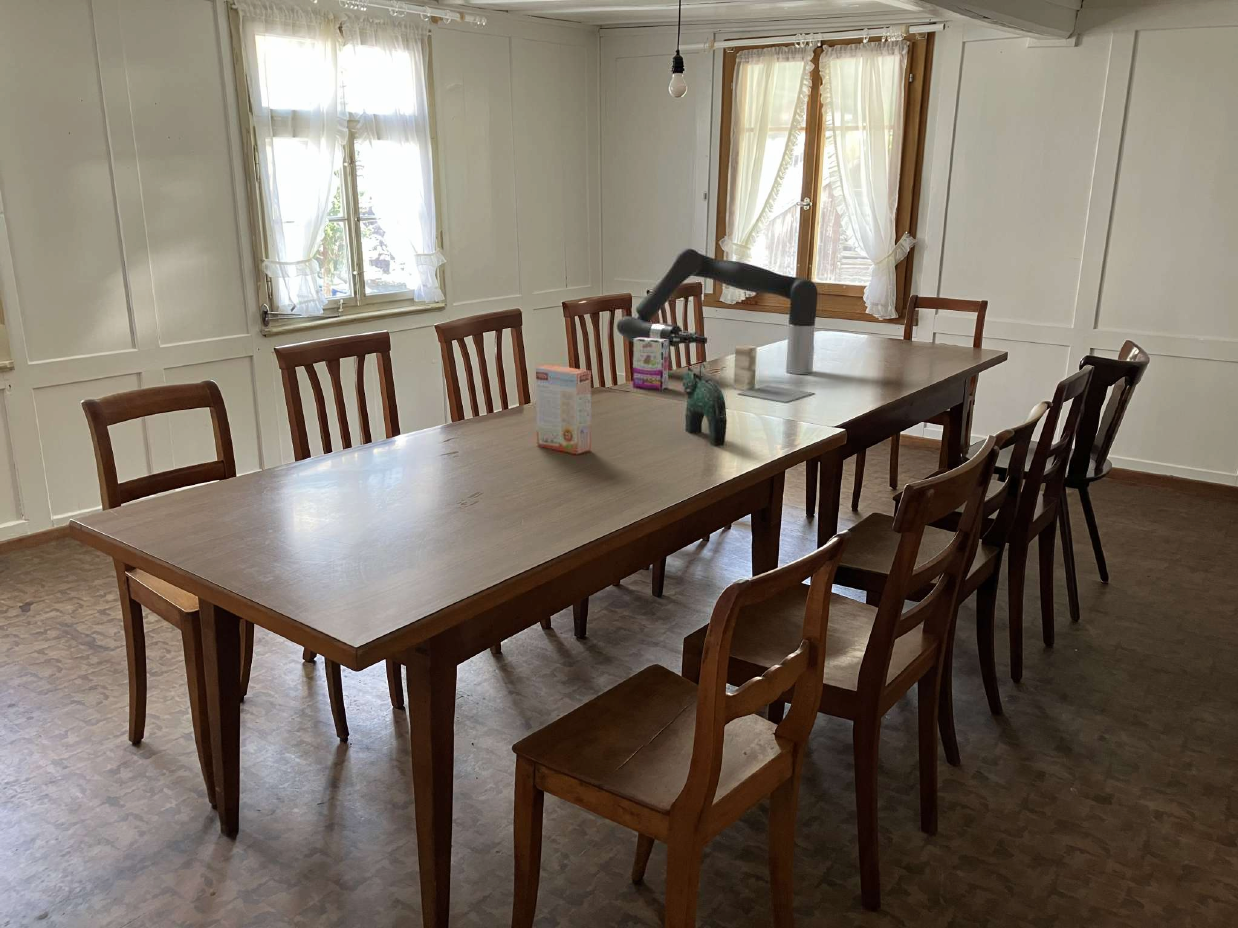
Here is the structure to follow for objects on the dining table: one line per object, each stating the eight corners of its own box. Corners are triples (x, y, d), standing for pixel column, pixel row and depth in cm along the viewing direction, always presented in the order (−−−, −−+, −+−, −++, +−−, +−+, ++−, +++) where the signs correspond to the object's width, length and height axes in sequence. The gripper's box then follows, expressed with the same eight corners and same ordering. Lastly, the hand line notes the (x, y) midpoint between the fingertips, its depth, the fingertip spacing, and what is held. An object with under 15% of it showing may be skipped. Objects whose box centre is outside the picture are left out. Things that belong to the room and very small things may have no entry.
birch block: (742, 386, 327) (744, 345, 323) (754, 388, 324) (756, 347, 320) (733, 388, 323) (735, 347, 319) (746, 391, 320) (748, 348, 316)
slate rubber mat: (767, 386, 328) (767, 385, 328) (814, 394, 316) (814, 392, 316) (737, 394, 315) (737, 393, 315) (785, 403, 303) (785, 401, 303)
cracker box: (592, 450, 248) (592, 370, 243) (576, 455, 244) (576, 373, 238) (551, 441, 257) (550, 363, 251) (536, 446, 252) (534, 366, 246)
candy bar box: (668, 388, 324) (669, 339, 319) (662, 390, 320) (663, 341, 315) (638, 384, 329) (639, 336, 324) (631, 387, 324) (632, 338, 320)
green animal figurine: (679, 429, 270) (681, 358, 265) (700, 427, 272) (702, 357, 267) (710, 447, 252) (713, 371, 247) (732, 445, 255) (735, 370, 249)
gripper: (654, 325, 335) (694, 331, 324) (678, 322, 344) (717, 328, 333) (653, 347, 337) (693, 354, 326) (677, 343, 346) (716, 349, 335)
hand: (705, 340), depth 330 cm, fingers closed
